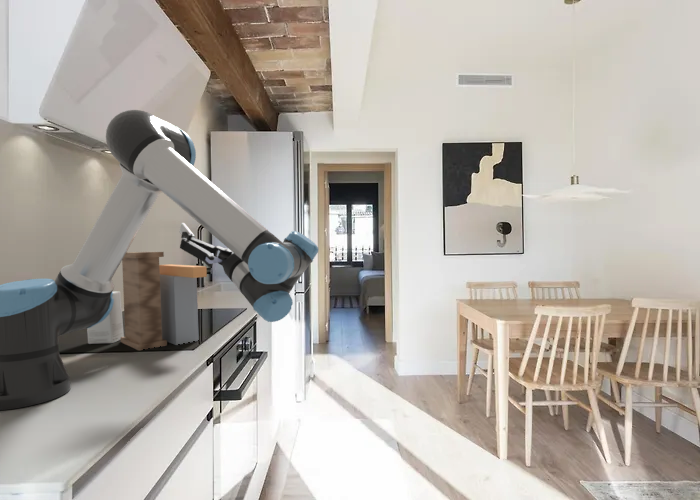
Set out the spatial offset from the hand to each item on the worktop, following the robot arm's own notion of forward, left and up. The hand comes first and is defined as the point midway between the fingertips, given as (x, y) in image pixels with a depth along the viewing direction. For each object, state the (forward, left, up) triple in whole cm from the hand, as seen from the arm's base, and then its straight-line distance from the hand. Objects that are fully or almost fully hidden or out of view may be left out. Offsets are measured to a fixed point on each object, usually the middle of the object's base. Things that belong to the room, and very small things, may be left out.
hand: (207, 227), depth 115 cm
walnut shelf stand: (-7, +31, -34) cm, 47 cm away
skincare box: (-14, +44, -35) cm, 58 cm away
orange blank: (+3, +24, -14) cm, 28 cm away
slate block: (+3, +29, -34) cm, 45 cm away
